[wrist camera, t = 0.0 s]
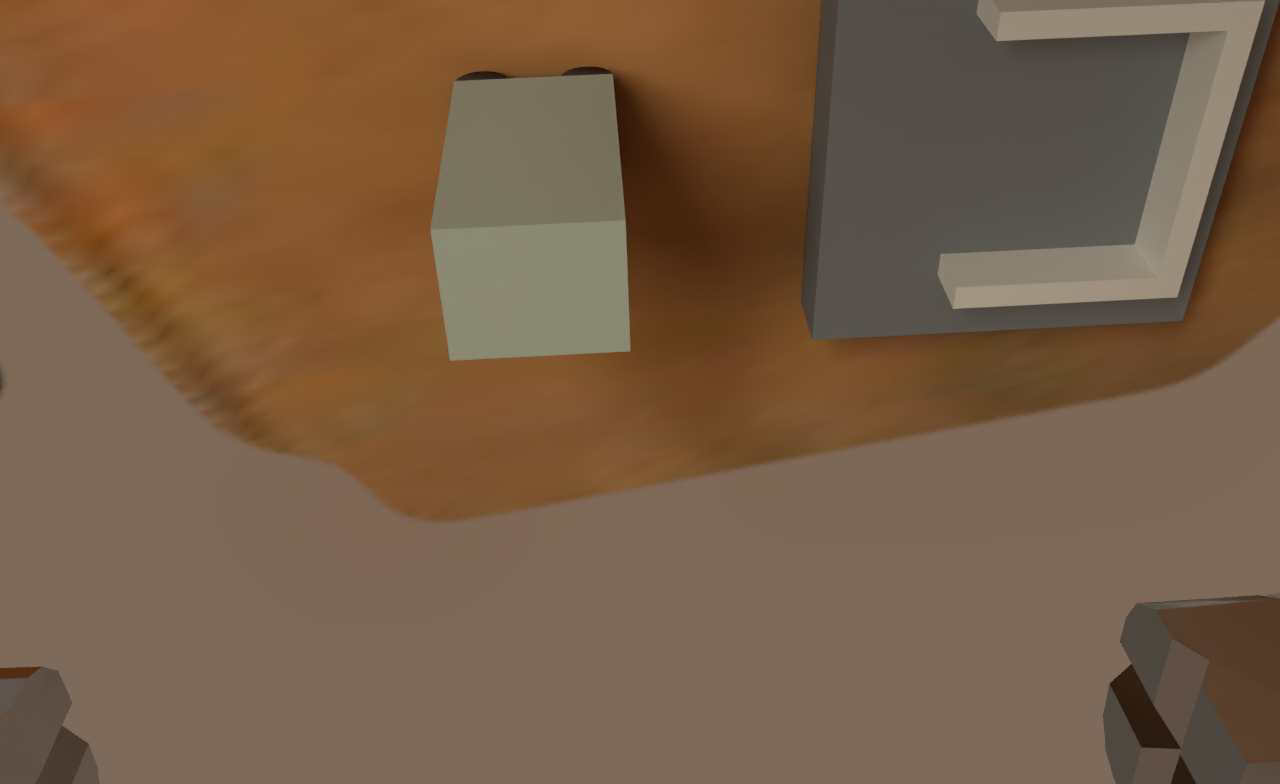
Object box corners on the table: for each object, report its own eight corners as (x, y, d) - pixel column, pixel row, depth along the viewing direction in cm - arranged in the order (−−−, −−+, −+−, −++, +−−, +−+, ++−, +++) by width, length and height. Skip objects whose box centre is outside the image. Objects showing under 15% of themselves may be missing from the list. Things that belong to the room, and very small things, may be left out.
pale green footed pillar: (456, 70, 47) (430, 229, 37) (611, 63, 47) (625, 220, 38) (470, 185, 50) (450, 360, 40) (616, 179, 50) (630, 350, 41)
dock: (830, -122, 43) (860, -73, 39) (1274, -141, 44) (1353, -94, 39) (801, 300, 54) (822, 375, 50) (1155, 282, 55) (1206, 355, 50)
